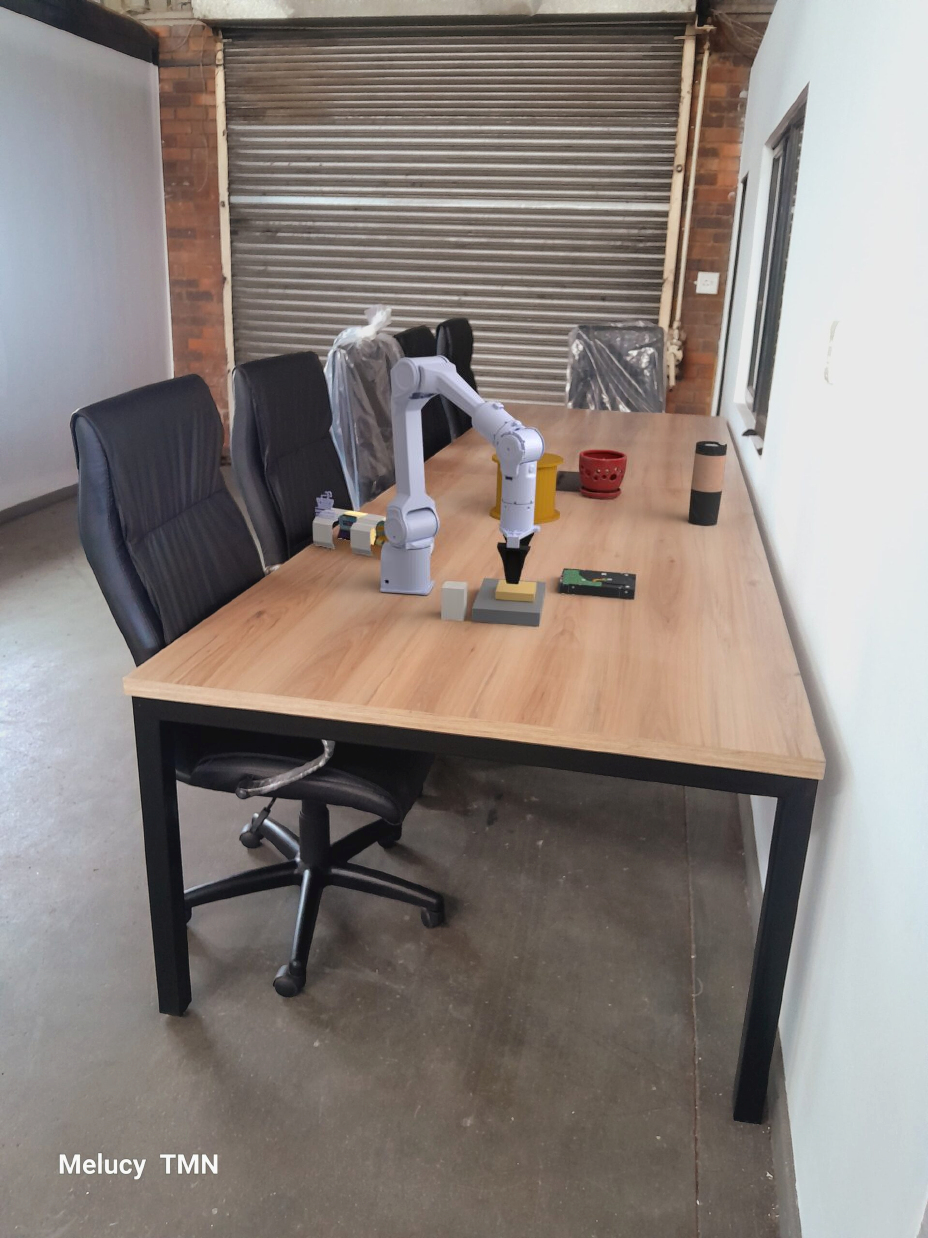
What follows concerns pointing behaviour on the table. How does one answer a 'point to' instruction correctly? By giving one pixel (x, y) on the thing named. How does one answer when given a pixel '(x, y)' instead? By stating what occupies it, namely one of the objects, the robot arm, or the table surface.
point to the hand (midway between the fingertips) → (514, 576)
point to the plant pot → (601, 473)
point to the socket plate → (507, 606)
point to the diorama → (349, 527)
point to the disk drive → (597, 583)
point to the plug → (454, 601)
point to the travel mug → (707, 483)
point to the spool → (536, 489)
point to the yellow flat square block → (516, 591)
